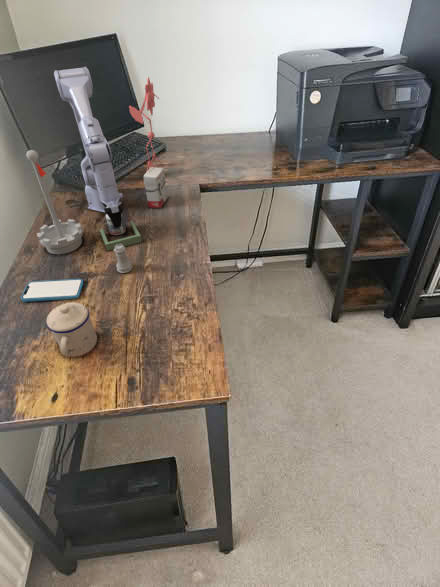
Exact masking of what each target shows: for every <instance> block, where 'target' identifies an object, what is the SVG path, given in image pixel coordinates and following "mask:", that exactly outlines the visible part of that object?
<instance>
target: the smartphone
mask: <svg viewBox="0 0 440 587" xmlns="http://www.w3.org/2000/svg"><path fill="white" fill-rule="evenodd" d="M83 286H84V280H83V278H68V279H51V280H49V279H48V280H35V281H33V280H32V281H29V282H28V283H27V284H26V286H25V288H24V291H23V292H22V294H21V296H20V299H21V301H22V302H26V303H27V302H29V303H30V302H43V301H45V302H46V301H62V300H77V299H78V298H79V297H80V295H81V292H82V288H83Z"/></svg>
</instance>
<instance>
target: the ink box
mask: <svg viewBox="0 0 440 587" xmlns="http://www.w3.org/2000/svg"><path fill="white" fill-rule="evenodd" d="M146 171H147V170H146ZM142 178H143V183H144V188H145V194H146V199H147V205H148V208H153V209H162V207H163V206H164V204H165V202H166V201H167V199H168V191H167V183H166V176H165V169H164V167H158V166H157V167H156V166H155V167H150V168H149V170H148V171H147V172H145V173H144V175H143V177H142Z"/></svg>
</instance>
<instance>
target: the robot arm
mask: <svg viewBox="0 0 440 587" xmlns="http://www.w3.org/2000/svg"><path fill="white" fill-rule="evenodd" d="M53 76H54V79H55V83H56V86H57V90H58V92H59V96H60V98H61V99H62V101H63V102H67V103H69V105H70V106H71V108H72V111H73V114H74V117H75V121H76V124H77V128H78V131H79V135H80V138H81V141H82V146H83V149H84V153H85V156H84V158H83V159H82V160H81V162H80V168H81V174H82V177H83V179H84V180H83V181H84V183H85V187H84V194H85V196H86V200H87V203H88V207H87V209H88V210H92V211H96V212H100V213H103V214H104V213H105V215H106V214H107V215H108V216H109V217H110V219H111V221H112V224H113V226H114V227H115V228H117V227H121V215H123V212H124V207H123V205H122V202H121V201H120V199H121V198H123V197H124V195H123V193H122V192H119V190H118V186H117V182H116V177H115V173H114V168H113V164H112V162H113V154H112V151H111V150H112V149H111V147H110V144H109V143H108V140H107V139H106V137H105V136H104V133H103V130H102V127H101V125H100V122H99V120H98V119H97V118H96V117H94V116H93V113H92V112H93V111H92V108H91V103H90V100H89V99H90V98H92V97H93V87H94V86H93V81H92V77H91V73H90V70H89V68H87V67H86V66H83V67H77V68H76V67H75V68H68V69H61V70H60V69H59V70H56V69H55V70H54V72H53ZM107 206H108V207H109V208H106V207H107Z"/></svg>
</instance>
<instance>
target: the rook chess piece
mask: <svg viewBox="0 0 440 587" xmlns="http://www.w3.org/2000/svg"><path fill="white" fill-rule="evenodd" d="M114 247H115V248H114V249H113V251H114V252H115V256H116V258H117V262H116V265H115V266H116V271H117V272H118V273H120V274H128V273H130V272H131V271H132V270H133V265H132V262H131V261H130V260H129V259H128V257H127V255H126V254H127V252H126V249H127V248H126V246H124V245H123V244H122V245H121V244H120V245H118V244H117V245H116V246H114Z"/></svg>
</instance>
